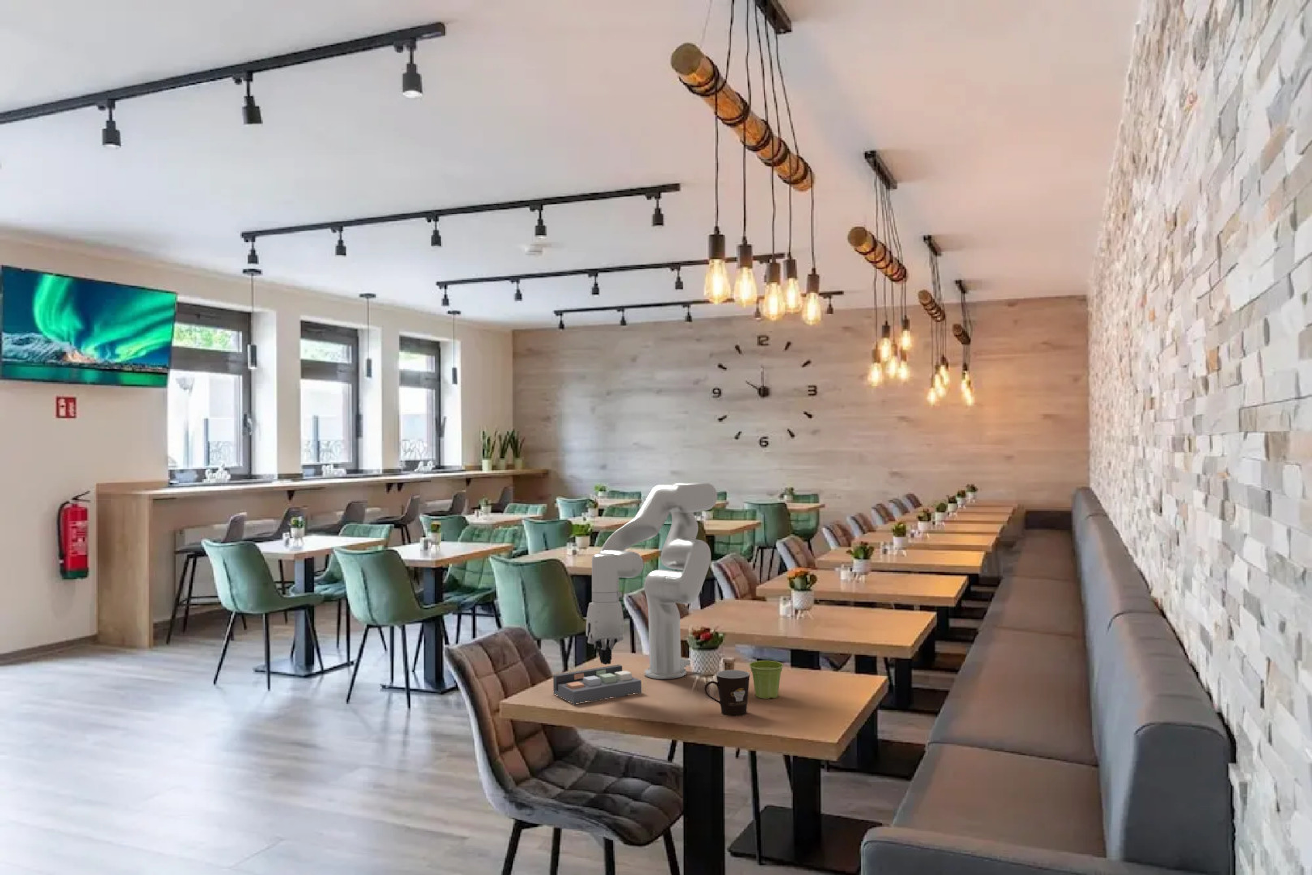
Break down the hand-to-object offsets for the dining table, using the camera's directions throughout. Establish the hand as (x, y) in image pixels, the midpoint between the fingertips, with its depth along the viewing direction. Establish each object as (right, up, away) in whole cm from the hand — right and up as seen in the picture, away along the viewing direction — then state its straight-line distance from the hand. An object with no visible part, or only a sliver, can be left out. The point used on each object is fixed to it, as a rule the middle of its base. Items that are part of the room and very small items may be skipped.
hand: (605, 663), depth 265 cm
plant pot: (+45, -8, -6) cm, 46 cm away
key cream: (+5, -6, +3) cm, 8 cm away
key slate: (-4, -6, -2) cm, 7 cm away
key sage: (+1, -6, +1) cm, 6 cm away
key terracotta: (-8, -7, -5) cm, 12 cm away
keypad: (-2, -9, 0) cm, 9 cm away
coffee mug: (+33, -8, -21) cm, 40 cm away
